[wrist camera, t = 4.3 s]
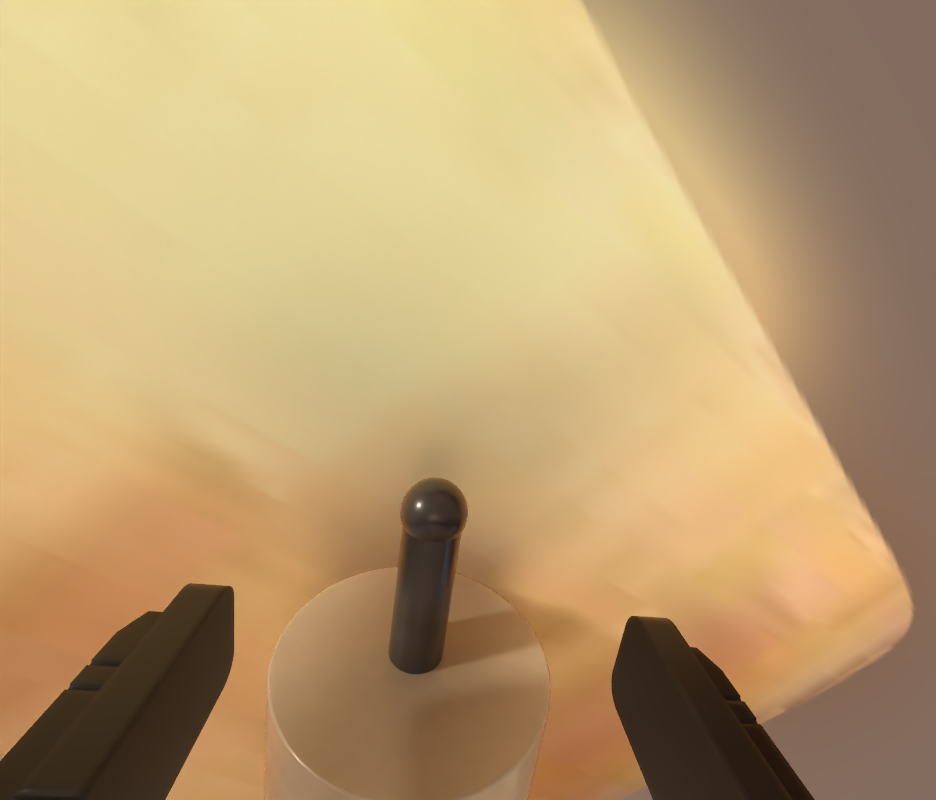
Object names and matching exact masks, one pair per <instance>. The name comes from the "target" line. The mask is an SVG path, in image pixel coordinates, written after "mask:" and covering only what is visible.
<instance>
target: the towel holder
mask: <svg viewBox="0 0 936 800" xmlns="http://www.w3.org/2000/svg"><path fill="white" fill-rule="evenodd" d="M467 517H468V507H467V502H466V499H465V497H464V495H463V493H462V492H461V490H460V489H459V488H458V487H457V486H456V485H454V484H453V483H452V482H450V481H448V480H445V479H441V478H428V479H425V480H422V481H420V482H418V483H416V484H415V485H414V486H412V487H411V488H410V489H409V490H408V492H407V493H406V495H405V497H404V499H403V501H402V505H401V521H402V525H403V527H402V535H401V544H400V553H399V562H398V567H389V568H382V569H376V570H372V571H367V572H364V573H360V574H357V575H354V576H351V577H349V578H347V579H344V580H342V581H339V582H337V583H336V584H334V585H332V586H330V587H328V588H326V589H325V590H323V591H322V592H321V593H319V594H318V595H316V596H315V597H313V598H312V599H311V600H310V601H309V602H308V603H306V604H305V605H304V606H303V607H302V608H301V609H300V610H299V611H298V612H297V614H296V615H295V616H294V617H293V618H292V619H291V621H290V622H289V624H288V625H287V626H286V628H285V629H284V631H283V633H282V635H281V636H280V638H279V640H278V642H277V644H276V646H275V649H274V652H273V655H272V658H271V661H270V666H269V671H268V677H267V709H266V745H265V781H264V800H528V795H529V791H530V787H531V783H532V779H533V774H534V770H535V766H536V762H537V758H538V753H539V749H540V745H541V741H542V736H543V732H544V728H545V724H546V720H547V715H548V711H549V707H550V696H551V684H550V673H549V669H548V664H547V660H546V657H545V654H544V651H543V648H542V646H541V644H540V642H539V640H538V638H537V636H536V634H535V632H534V631H533V629H532V628H531V626H530V625H529V623H528V622H527V621H526V619H525V618H524V617H523V616H522V615H521V614H520V613H519V611H518V610H517V609H516V608H514V607H513V606H512V605H511V604H510V603H509V602H508V601H507V600H505V599H504V598H503V597H501V596H500V595H499V594H497V593H496V592H494V591H493V590H491V589H489V588H488V587H486V586H484V585H482V584H480V583H478V582H476V581H474V580H472V579H470V578H467V577H464V576H462V575H459V574H455V571H456V564H457V558H458V551H459V545H460V538H461V532H462V531H463V529H464V527H465V524H466V521H467Z"/></svg>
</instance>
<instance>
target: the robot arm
mask: <svg viewBox="0 0 936 800" xmlns="http://www.w3.org/2000/svg"><path fill="white" fill-rule="evenodd" d="M233 655H234V591H233V588H232V587H231V586H221V585H206V584H192V583H191V584H187V585H186V586H185V587H184V588H183V589H182V590H181V591H180V592H179V593H178V595H177V596H176V597H175V598H174V599H173V601H172V602H171V603H170V604H169V605H168V607H167V608H166V609H165V610H164V612H155V611H148V612H147V613H145V614H144V615H142V616H141V617H139V618H138V619H136V620H135V621H133V622H132V623H130V624H129V625H127V626H126V627H124V628H123V629H121V630H120V631H118V632H117V633H116V634H115V635H114V636H113V637H112V638H111V639H110V640H109V641H108V643H107V644H106V645H105V646H104V647H103V648H102V649H101V650H100V651H99V652H98V654H97V655H96V656H95V657H94V658H93V659H92V662H91V664H90V665H87V666H86V667H85V668H84V669H83V670H82V671H81V672H80V674H79V675H78V676H77V677H76V678H75V679H74V680H73V681H72V682H71V684H70V687H69V689H68V690H64V691H63V692H62V693H61V695H60V696H59V697H58V698H57V699H56V700H55V701H54V702H53V703H52V704H51V706H50V707H49V708H48V709H47V710H46V711H45V712H44V713H43V714H42V716H41V717H40V718H39V719H38V720H37V721H36V722H35V723H34V724H33V726H32V727H31V728H30V729H29V730H28V731H27V732H26V733H25V734H24V735H23V737H22V738H21V739H20V740H19V741H18V742H17V743H16V744H15V745H14V747H13V748H12V749H11V750H10V751H9V752H8V753H7V754H6V755H5V757H4V758H3V759H2V760H1V761H0V800H165V799H166V797H167V795H168V793H169V791H170V790H171V788H172V786H173V784H174V782H175V780H176V778H177V776H178V774H179V772H180V770H181V768H182V767H183V765H184V763H185V761H186V759H187V757H188V755H189V753H190V751H191V749H192V747H193V745H194V744H195V742H196V740H197V738H198V736H199V734H200V732H201V730H202V728H203V726H204V724H205V723H206V721H207V719H208V717H209V715H210V713H211V711H212V709H213V707H214V705H215V703H216V701H217V700H218V698H219V696H220V694H221V692H222V690H223V688H224V686H225V683H226V681H227V678H228V676H229V673H230V669H231V666H232V661H233ZM612 694H613V700H614V704H615V707H616V710H617V713H618V715H619V717H620V720H621V722H622V725H623V727H624V730H625V732H626V735H627V737H628V739H629V742H630V744H631V747H632V749H633V752H634V754H635V757H636V759H637V761H638V764H639V766H640V769H641V771H642V774H643V776H644V779H645V781H646V783H647V786H648V788H649V791H650V793H651V795H652V798H653V800H814V798H813V797H812V795H811V794H810V793H809V791H808V790H807V789H806V787H805V786H804V784H803V783H802V782H801V780H800V779H799V778H798V776H797V775H796V773H795V772H794V770H793V769H792V768H791V766H790V765H789V763H788V762H787V761H786V759H785V758H784V757H783V755H782V754H781V752H780V751H779V749H778V748H777V747H776V745H775V744H774V743H773V741H772V740H771V738H770V737H769V736H768V734H767V733H766V731H765V730H764V729H763V727H762V726H761V725H760V724H757V722H756V717H755V716H754V715H753V713H752V712H751V710H750V709H749V708H748V706H747V705H746V703H745V702H743V701H741V699H740V695H739V694H738V692H737V691H736V689H735V688H734V687H733V685H732V684H731V683H730V681H729V680H728V678H727V677H726V676H725V674H724V673H723V671H722V670H721V669H720V668H719V667H718V666H716V665H715V664H714V663H713V662H712V661H711V660H710V659H709V658H707V657H706V656H705V655H704V654H703V653H702V652H701V651H700V650H698V649H697V648H693V647H689V645H688V644H687V642H686V641H685V639H684V638H683V636H682V635H681V633H680V632H679V630H678V629H677V627H676V626H675V625H674V623H673V622H672V621H671V620H669V619H667V618H655V617H641V616H631V617H630V618H629V619H628V621H627V623H626V626H625V630H624V633H623V637H622V640H621V644H620V648H619V651H618V655H617V658H616V662H615V665H614V669H613V673H612Z"/></svg>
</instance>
